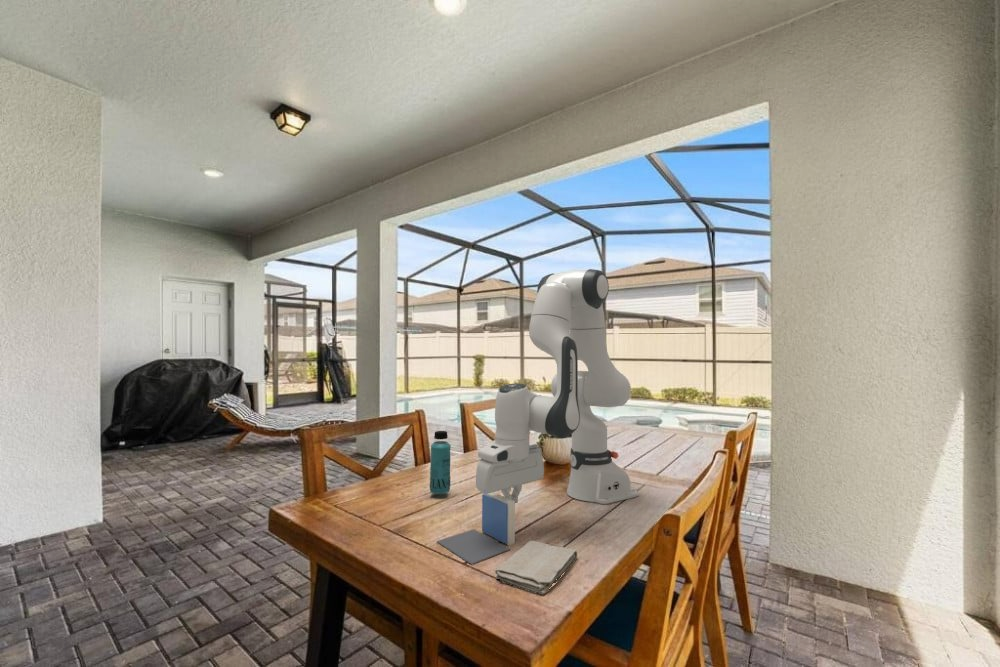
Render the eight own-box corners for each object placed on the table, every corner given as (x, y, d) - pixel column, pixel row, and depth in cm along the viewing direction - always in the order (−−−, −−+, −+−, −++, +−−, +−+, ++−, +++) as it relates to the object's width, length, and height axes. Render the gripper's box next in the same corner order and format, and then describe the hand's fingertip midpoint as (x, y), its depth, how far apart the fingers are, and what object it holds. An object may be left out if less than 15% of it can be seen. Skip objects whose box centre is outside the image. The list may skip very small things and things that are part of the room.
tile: (488, 529, 114) (489, 490, 114) (514, 543, 106) (515, 501, 106) (481, 532, 112) (481, 492, 112) (506, 546, 104) (507, 503, 105)
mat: (473, 530, 113) (474, 529, 113) (510, 550, 102) (510, 548, 102) (436, 542, 106) (436, 541, 106) (471, 565, 95) (471, 563, 95)
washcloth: (491, 583, 89) (491, 568, 89) (529, 547, 105) (529, 534, 105) (546, 600, 83) (546, 583, 83) (578, 560, 99) (578, 546, 99)
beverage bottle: (425, 497, 137) (426, 432, 137) (436, 490, 143) (437, 428, 143) (444, 500, 134) (444, 434, 135) (454, 493, 141) (454, 430, 141)
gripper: (532, 440, 121) (532, 491, 121) (472, 451, 108) (471, 509, 108) (549, 445, 117) (549, 498, 116) (488, 457, 104) (487, 516, 103)
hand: (511, 503), depth 112 cm, fingers closed
